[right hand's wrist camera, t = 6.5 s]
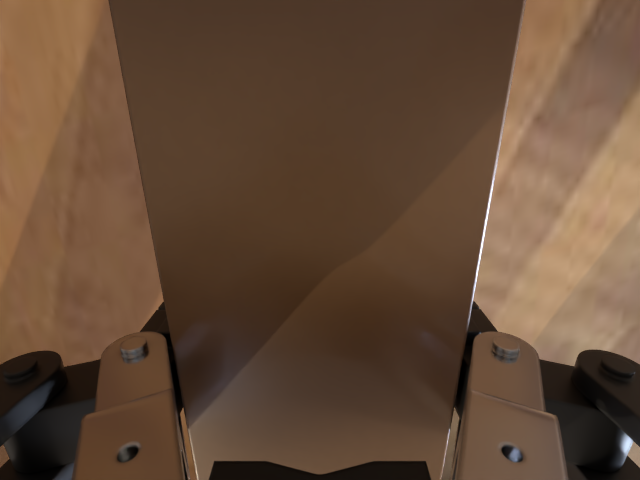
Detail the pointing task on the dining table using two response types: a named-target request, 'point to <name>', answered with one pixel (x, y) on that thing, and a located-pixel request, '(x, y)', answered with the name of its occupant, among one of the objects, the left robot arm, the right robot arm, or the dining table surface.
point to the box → (318, 213)
